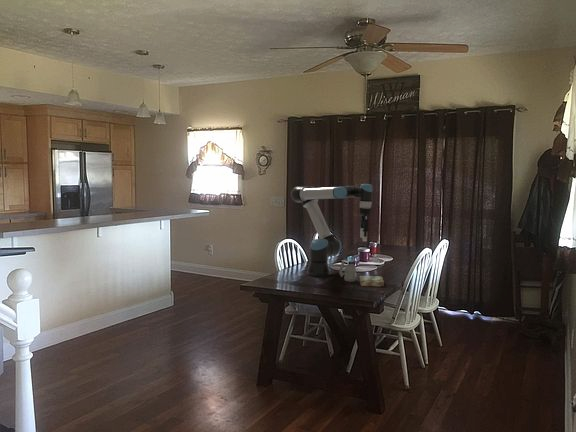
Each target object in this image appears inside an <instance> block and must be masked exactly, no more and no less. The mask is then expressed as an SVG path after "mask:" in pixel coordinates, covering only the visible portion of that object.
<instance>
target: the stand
mask: <svg viewBox="0 0 576 432" xmlns="http://www.w3.org/2000/svg"><path fill="white" fill-rule="evenodd" d="M359 284H360V286H361V287H362V286H363V287H381V286H383V287H385V281H384V279H383V276H379V275H377V276H376V275H375V276H374V275H359ZM383 287H382V288H383Z"/></svg>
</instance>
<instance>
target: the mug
mask: <svg viewBox="0 0 576 432" xmlns="http://www.w3.org/2000/svg"><path fill="white" fill-rule="evenodd" d="M343 269H344V272H343ZM338 270H339V273H338V274H339V275H340V278H344V281H345V282H356V278H357V277H356V272H357V269H356V265H355V264H352V263H351V264H348V263H347V264H345V261H344V260H341V263H340V267H339V269H338Z"/></svg>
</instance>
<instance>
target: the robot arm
mask: <svg viewBox="0 0 576 432" xmlns="http://www.w3.org/2000/svg"><path fill="white" fill-rule="evenodd" d="M290 197H291V200H292V201H294V203H299V204H300V203H301V204H302V207H303V208H305V209H306V211H307V213H308V215H309V217H310V219H311V222H312V224H313V226H314V229H315V231H316V233H317V235H318V238H316V239H315V238H314V239H313V240H312V241H311V242H310V245H309V246H310V252H309V253H310V256H309V259H310V260H309V265H308V267H307V275H309V276H312V277H328V276H330V274H331V271H330V266H329V264H328V258H329V257H335V256H337V255H339V253H340V252H341V251H342V243H341V241H340V240H339V239H338V238H336V237H335V235H334V233H331V230H330V228H329V226H328V224H327V222H326V220H325V217H324V215H323V213H322V211H321V207H320V206H319V204H318V202H319V200H326V199H331V200H332V199H348V198H357V199H359V209H358V213H359V214H361V218H360V223H359V224H360V225H359V227H360V231H359V238H361V239H362V242H367V241H368V231H369V216H368V215H371V214H372V204H373V202H372V201H373V200H372V199H373V198H372V197H373V184H370V183H362V184H360V186H358V185H346V186H341V185H340V186H329V187H314V186H312V185H302V186H300V185H299V186H295V187H293V188H292V190H291V192H290Z"/></svg>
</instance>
